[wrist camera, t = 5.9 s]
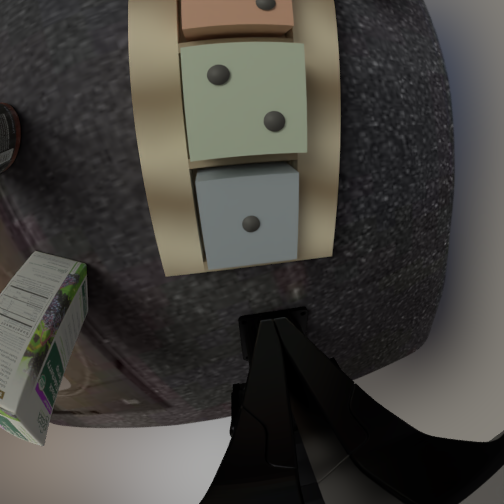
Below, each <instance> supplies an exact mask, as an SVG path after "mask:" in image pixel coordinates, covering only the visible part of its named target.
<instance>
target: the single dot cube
mask: <svg viewBox="0 0 504 504" xmlns="http://www.w3.org/2000/svg"><path fill="white" fill-rule="evenodd" d="M195 184H196V191H197V199H198V206H199V213H200V220H201V227H202V233H203V240H204V246H205V252H206V259H207V265H208V270H212V269H221V268H229V267H238V266H246V265H254V264H262V263H270V262H278V261H286V260H294V259H297V245H298V211H299V172H298V171H296V170H295V169H294V168H293V167H292V166H290V165H289V164H288V163H287V162H285V161H281V162H265V163H251V164H240V165H229V166H220V167H211V168H202V169H198V170H197V176H196V181H195Z"/></svg>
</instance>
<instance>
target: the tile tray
mask: <svg viewBox="0 0 504 504" xmlns="http://www.w3.org/2000/svg"><path fill="white" fill-rule="evenodd" d="M292 8H293V19H294V26H293V27H292V28H291V29H290V30H288V31H287V32H286V33H285V34H284V35H283V36H281V37H280V38H278V37H238V38H220V39H208V40H199V41H191V42H187V41H186V38H185V36H184V33H183V31H182V15H181V0H129V5H128V41H129V65H130V80H131V92H132V102H133V112H134V120H135V128H136V136H137V143H138V149H139V156H140V162H141V168H142V174H143V179H144V185H145V190H146V195H147V200H148V205H149V210H150V214H151V219H152V224H153V228H154V232H155V236H156V241H157V245H158V249H159V253H160V257H161V261H162V264H163V268H164V272H165V275H166V277H167V276H176V275H185V274H193V273H202V272H210V271H219V270H227V269H236V268H244V267H252V266H260V265H268V264H276V263H284V262H291V261H299V260H307V259H314V258H322V257H329V256H332V251H333V242H334V232H335V222H336V210H337V197H338V182H339V162H340V126H341V101H340V66H339V49H338V35H337V24H336V14H335V5H334V0H292ZM232 42H287V43H302V44H304V54H305V72H306V99H307V152H306V153H279V154H262V155H248V156H237V157H226V158H217V159H208V160H200V161H192V162H190V155H189V146H188V137H187V127H186V117H185V106H184V95H183V82H182V68H181V52H180V48H182V47H189V46H197V45H206V44H217V43H232ZM281 161H285V162H287V163H288V164H289V165H290V166H292V167H293V168H294V169H295V170H296V171H298V172H299V211H298V245H297V259H294V260H286V261H278V262H270V263H262V264H254V265H246V266H238V267H229V268H221V269H212V270H208V265H207V259H206V252H205V246H204V240H203V233H202V227H201V220H200V213H199V206H198V199H197V191H196V184H195V181H196V176H197V170H198V169H202V168H211V167H220V166H229V165H240V164H251V163H265V162H281Z"/></svg>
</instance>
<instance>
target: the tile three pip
mask: <svg viewBox="0 0 504 504" xmlns="http://www.w3.org/2000/svg"><path fill="white" fill-rule="evenodd" d="M181 15H182V31H183V33H184V36H185V38H186V41H187V42H191V41H199V40H208V39H220V38H238V37H278V38H280V37H281V36H283V35H284V34H285V33H286V32H287V31H288V30H290V29H291V28H292V27H293V26H294V19H293V8H292V0H181Z"/></svg>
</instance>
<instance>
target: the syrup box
mask: <svg viewBox="0 0 504 504" xmlns="http://www.w3.org/2000/svg"><path fill="white" fill-rule="evenodd" d="M88 310H89V309H88V291H87V265H86V264H85V263H81V262H77V261H74V260H70V259H66V258H62V257H58V256H54V255H50V254H46V253H42V252H38V251H35V252H34V253H33V254H32V255H31V256H30V257H29V259H28V260H27V261H26V262H25V264H24V265H23V266H22V267H21V268H20V269H19V271H18V272H17V273H16V274H15V276H14V277H13V278H12V279H11V281H10V282H9V283H8V285H7V286H6V288H5V289H4V290H3V291H2V293H1V294H0V427H1V428H2V429H4V430H6V431H7V432H9V433H11V434H13V435H14V436H16V437H18V438H21V439H23V440H25V441H28V442H31V443H34V444H37V445H41V446H44V444H45V439H46V434H47V430H48V426H49V422H50V418H51V414H52V410H53V407H54V403H55V400H56V397H57V393H58V390H59V387H60V384H61V381H62V378H63V375H64V372H65V369H66V366H67V363H68V361H69V358H70V355H71V353H72V350H73V347H74V345H75V342H76V340H77V337H78V334H79V332H80V329H81V327H82V324H83V322H84V319H85V317H86V315H87V313H88Z"/></svg>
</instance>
